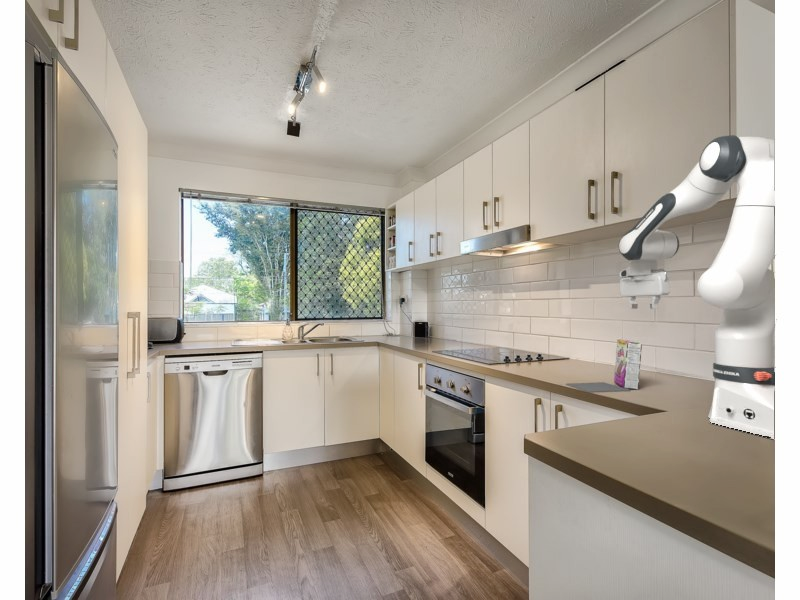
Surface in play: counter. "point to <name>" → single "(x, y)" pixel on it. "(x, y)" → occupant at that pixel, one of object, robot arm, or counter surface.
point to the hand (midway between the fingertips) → (643, 308)
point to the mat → (597, 387)
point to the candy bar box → (627, 363)
